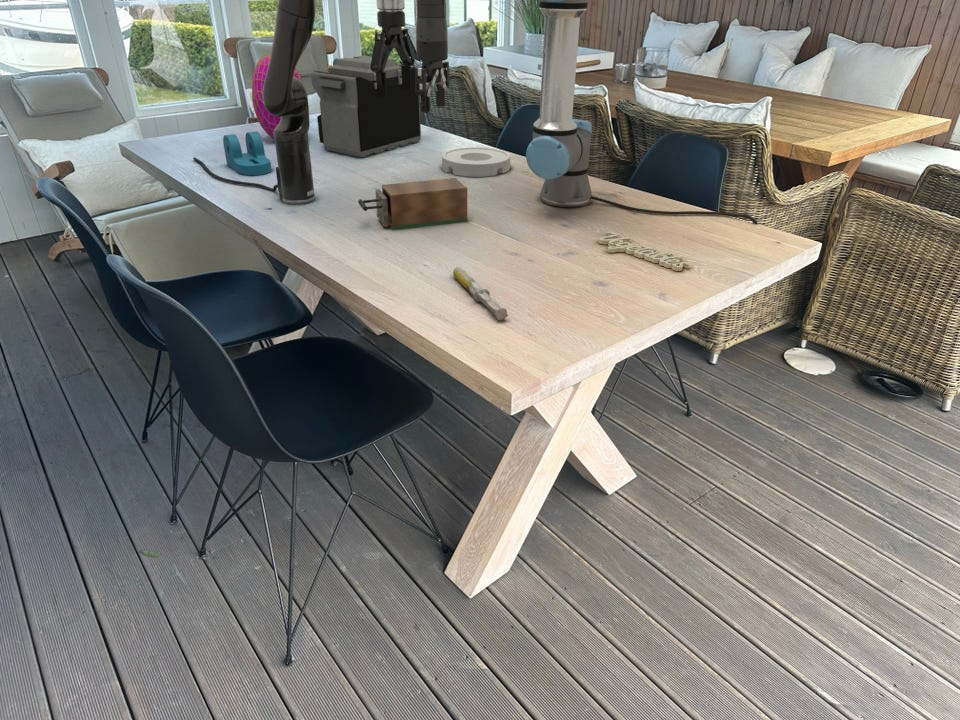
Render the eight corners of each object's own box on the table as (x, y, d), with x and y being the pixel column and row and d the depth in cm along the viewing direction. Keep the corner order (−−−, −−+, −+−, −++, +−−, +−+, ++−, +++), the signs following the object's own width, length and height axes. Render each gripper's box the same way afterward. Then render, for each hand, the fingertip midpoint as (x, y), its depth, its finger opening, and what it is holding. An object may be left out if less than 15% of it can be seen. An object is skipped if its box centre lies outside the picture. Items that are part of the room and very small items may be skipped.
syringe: (449, 274, 155) (449, 263, 153) (465, 272, 156) (464, 260, 154) (490, 323, 135) (491, 310, 133) (508, 319, 136) (508, 307, 134)
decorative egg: (293, 132, 276) (283, 50, 261) (319, 140, 264) (310, 56, 249) (249, 139, 265) (236, 54, 250) (273, 148, 253) (261, 60, 238)
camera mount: (227, 164, 233) (221, 132, 227) (257, 160, 238) (252, 129, 233) (244, 176, 220) (239, 143, 215) (276, 172, 225) (271, 139, 220)
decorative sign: (584, 239, 172) (609, 230, 178) (583, 243, 172) (609, 234, 178) (672, 271, 155) (697, 260, 161) (671, 275, 156) (696, 264, 161)
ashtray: (444, 158, 243) (444, 146, 241) (509, 159, 243) (510, 147, 241) (439, 176, 224) (438, 163, 222) (510, 177, 223) (510, 165, 221)
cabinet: (392, 229, 180) (390, 195, 175) (383, 218, 188) (381, 184, 183) (467, 221, 186) (467, 187, 182) (456, 210, 194) (455, 177, 189)
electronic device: (383, 133, 276) (378, 52, 261) (425, 141, 265) (422, 56, 250) (314, 150, 251) (304, 61, 235) (358, 160, 240) (350, 67, 224)
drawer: (365, 228, 178) (363, 200, 174) (358, 218, 185) (356, 191, 181) (455, 218, 185) (455, 191, 182) (446, 209, 192) (445, 182, 188)
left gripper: (430, 34, 170) (432, 103, 178) (403, 40, 159) (406, 113, 167) (458, 36, 167) (458, 105, 176) (432, 41, 156) (434, 116, 164)
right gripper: (402, 7, 197) (405, 86, 208) (353, 12, 177) (359, 99, 188) (425, 8, 194) (427, 88, 205) (377, 13, 175) (383, 101, 186)
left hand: (433, 109), depth 171 cm, fingers open, 8 cm apart
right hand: (394, 93), depth 197 cm, fingers open, 13 cm apart
